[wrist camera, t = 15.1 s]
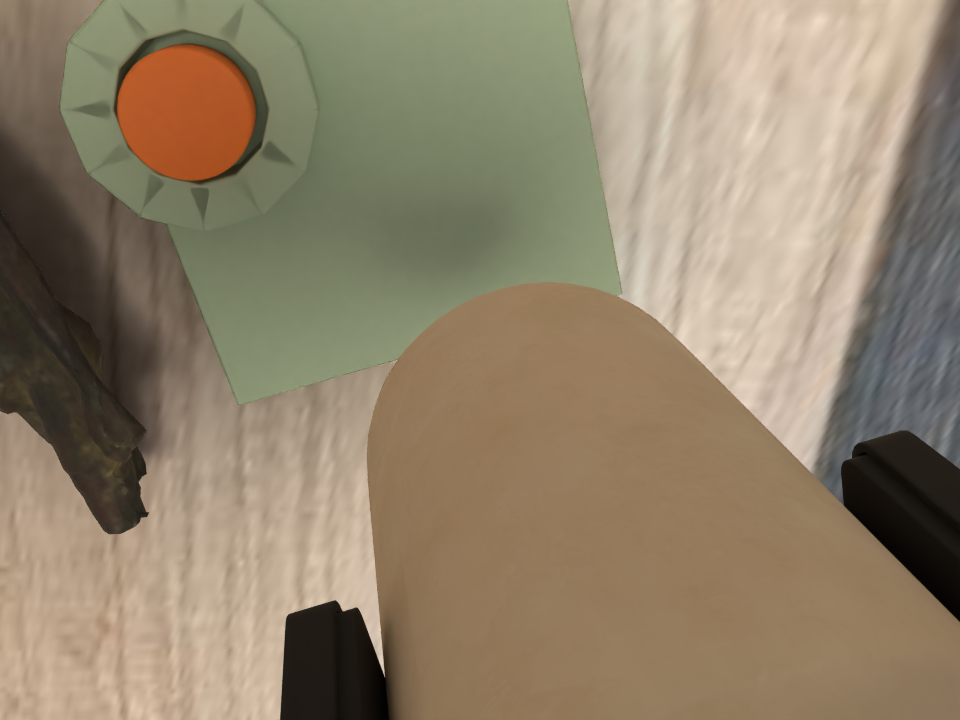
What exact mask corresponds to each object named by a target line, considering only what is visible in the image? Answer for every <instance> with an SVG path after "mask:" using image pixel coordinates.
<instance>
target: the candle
mask: <svg viewBox="0 0 960 720" xmlns="http://www.w3.org/2000/svg"><path fill="white" fill-rule="evenodd" d="M367 468H368V487H369V499H370V511H371V523H372V534H373V545H374V557H375V568H376V579H377V591H378V602H379V613H380V625H381V636H382V647H383V659H384V670H385V681H386V693H387V704H388V715H389V720H960V622H959V621H958V620H957V619H956V618H955V617H954V616H953V615H952V614H951V613H950V612H949V611H948V610H947V609H946V608H945V607H944V606H943V605H942V604H941V603H940V602H939V601H938V600H937V599H936V598H935V597H934V596H933V595H932V594H931V593H930V592H929V591H928V590H927V589H926V588H925V587H924V586H923V585H922V584H921V583H920V582H919V581H918V580H917V579H916V578H915V577H914V576H913V575H912V574H911V573H910V572H909V571H908V570H907V569H906V568H905V567H904V566H903V565H902V564H901V563H900V562H899V561H898V560H897V559H896V558H895V557H894V556H893V555H892V554H891V553H890V552H889V551H888V550H887V549H886V548H885V547H884V546H883V545H882V544H881V543H880V542H879V541H878V540H877V539H876V538H875V537H874V536H873V535H872V534H871V533H870V532H869V531H868V530H867V529H866V527H865V526H864V525H863V524H862V523H861V522H860V521H859V520H858V519H857V518H856V517H855V516H854V515H853V514H852V513H851V512H850V511H849V510H848V509H847V508H846V507H845V506H844V505H843V504H842V503H841V502H840V501H839V500H838V499H837V498H836V497H835V496H834V495H833V494H832V493H831V492H830V491H829V490H828V489H827V488H826V487H825V486H824V485H823V484H822V483H821V482H820V481H819V480H818V479H817V478H816V477H815V476H814V475H813V474H812V473H811V472H810V471H809V470H808V469H807V468H806V467H805V466H804V465H803V464H802V463H801V462H800V461H799V460H798V459H797V458H796V457H795V456H794V455H793V454H792V453H791V452H790V451H789V450H788V449H787V448H786V447H785V446H784V445H783V444H782V443H781V442H780V441H779V440H778V439H777V438H776V437H775V436H774V435H773V434H772V433H771V432H770V431H769V430H768V429H767V428H766V427H765V426H764V425H763V424H762V423H761V422H760V421H759V420H758V419H757V418H756V417H755V416H754V415H753V414H752V413H751V412H750V411H749V410H748V409H747V408H746V407H745V406H744V405H743V404H742V403H741V402H740V401H739V400H738V399H737V398H736V397H735V396H734V395H733V394H732V393H731V392H730V391H729V390H728V389H727V388H726V387H725V386H724V385H723V384H722V383H721V382H720V381H719V380H718V379H717V378H716V377H715V376H714V375H713V374H712V373H711V372H710V371H709V370H708V369H707V368H706V367H705V366H704V365H703V364H702V363H701V362H700V361H699V360H698V359H697V358H696V357H695V356H694V355H693V354H692V353H691V352H690V351H689V350H688V349H687V348H686V347H685V346H684V345H683V344H682V343H681V342H680V341H679V340H677V339H676V338H675V337H674V336H673V335H672V334H671V333H670V332H669V331H668V330H667V329H666V328H665V327H663V326H662V325H661V324H660V323H659V322H658V321H657V320H656V319H654V318H653V317H652V316H650V315H649V314H647V313H646V312H644V311H643V310H642V309H640V308H639V307H637V306H635V305H633V304H631V303H629V302H627V301H625V300H623V299H621V298H619V297H617V296H614V295H612V294H609V293H607V292H604V291H601V290H598V289H595V288H592V287H587V286H582V285H576V284H571V283H557V282H540V283H526V284H520V285H515V286H510V287H505V288H501V289H498V290H495V291H492V292H489V293H486V294H483V295H480V296H478V297H476V298H473V299H471V300H469V301H467V302H465V303H463V304H461V305H459V306H457V307H456V308H454V309H452V310H451V311H449V312H448V313H446V314H445V315H443V316H441V317H440V318H439V319H437V320H436V321H435V322H434V323H432V324H431V325H430V326H429V327H428V328H426V329H425V330H424V331H423V332H422V333H421V334H420V335H419V336H418V337H417V338H416V339H415V340H414V341H413V342H412V343H411V344H410V345H409V346H408V347H407V348H406V350H405V351H404V352H403V354H402V355H401V357H400V358H399V359H398V361H397V362H396V363H395V365H394V366H393V368H392V370H391V372H390V373H389V375H388V377H387V379H386V381H385V383H384V385H383V387H382V389H381V392H380V395H379V397H378V400H377V403H376V405H375V409H374V412H373V416H372V421H371V425H370V430H369V434H368V448H367Z"/></svg>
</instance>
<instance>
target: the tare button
mask: <svg viewBox="0 0 960 720" xmlns="http://www.w3.org/2000/svg"><path fill="white" fill-rule="evenodd" d="M117 113H118V120H119V125H120V128H121V131H122V134H123V136H124V138H125V140H126V142H127V144H128V145H129V147H130V148H131V150H132V151H133V152H134V153H135V155H136V156H137V157H138V158H139V159H140V160H141V161H142V162H143V163H145V164H146V165H147V166H149V167H150V168H151V169H153V170H155V171H157V172H158V173H160V174H163V175H165V176H168V177H171V178H174V179H179V180H187V181H196V180H204V179H209V178H212V177H214V176H217V175H219V174H221V173H223V172H225V171H226V170H228V169H229V168H230V167H232V166H233V165H234V164H235V163H236V162H237V161H238V160H239V158H240V157H241V156H242V154H243V153H244V151H245V149H246V147H247V145H248V143H249V141H250V138H251V136H252V134H253V131H254V127H255V122H256V103H255V98H254V94H253V91H252V89H251V86H250V84H249V82H248V80H247V78H246V77H245V75H244V74H243V73H242V71H241V70H240V69H239V68H238V67H237V65H236V64H235V63H234V62H232V61H231V60H230V59H229V58H228V57H226V56H224V55H223V54H221V53H220V52H218V51H216V50H214V49H211V48H208V47H205V46H202V45H197V44H177V45H172V46H168V47H165V48H163V49H160V50H158V51H155V52H153V53H151V54H149V55H147V56H145V57H144V58H142V59H141V60H140V61H138V62H137V63H136V64H135V65H134V66H133V67H132V68H131V69H130V71H129V72H128V73H127V75H126V77H125V79H124V80H123V82H122V85H121V88H120V91H119V95H118V103H117Z"/></svg>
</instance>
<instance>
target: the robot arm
mask: <svg viewBox="0 0 960 720" xmlns="http://www.w3.org/2000/svg"><path fill="white" fill-rule="evenodd" d="M841 476H842V488H843V500H844V506H845V507H846V508H847V509H848V510H849V511H850V512H851V513H852V514H853V515H854V516H855V517H856V518H857V519H858V520H859V521H860V522H861V523H862V524H863V525H864V526H865V527H866V529H867V530H868V531H869V532H870V533H871V534H872V535H873V536H874V537H875V538H876V539H877V540H878V541H879V542H880V543H881V544H882V545H883V546H884V547H885V548H886V549H887V550H888V551H889V552H890V553H891V554H892V555H893V556H894V557H895V558H896V559H897V560H898V561H899V562H900V563H901V564H902V565H903V566H904V567H905V568H906V569H907V570H908V571H909V572H910V573H911V574H912V575H913V576H914V577H915V578H916V579H917V580H918V581H919V582H920V583H921V584H922V585H923V586H924V587H925V588H926V589H927V590H928V591H929V592H930V593H931V594H932V595H933V596H934V597H935V598H936V599H937V600H938V601H939V602H940V603H941V604H942V605H943V606H944V607H945V608H946V609H947V610H948V611H949V612H950V613H951V614H952V615H953V616H954V617H955V618H956V619H957V620H958V621H959V622H960V469H959V468H957V467H956V466H955V465H954V464H952V463H951V462H950V461H948V460H947V459H946V458H944V457H943V456H942V455H940V454H939V453H938V452H936V451H935V450H934V449H933V448H931V447H930V446H929V445H927V444H926V443H925V442H923V441H922V440H921V439H919V438H918V437H917V436H915V435H914V434H912V433H911V432H909V431H898V432H895V433H891V434H888V435H885V436H881V437H878V438H875V439H871V440H868V441H865V442H861V443H858V444H857V445H856V446H854V449H853V452H852V459H849V460H846V461H844V462H843V464H842V467H841ZM280 720H389V715H388V704H387V693H386V681H385V677H384V674H383V671H382V669H381V666H380V663H379V660H378V658H377V655H376V652H375V650H374V647H373V644H372V642H371V639H370V636H369V634H368V631H367V628H366V625H365V623H364V620H363V617H362V615H361V613H360V611H359V609H358V608H353V609H350V610H347V611H342V609H341V607H340V605H339V603H338V602H337V601H335V600H334V601H331V602H328V603H324V604H321V605H318V606H314V607H311V608H308V609H304V610H301V611H298V612H294V613H291V614H289V615H288V616H287V618H286V627H285V645H284V662H283V680H282V698H281V715H280Z"/></svg>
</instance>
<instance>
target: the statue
mask: <svg viewBox="0 0 960 720" xmlns="http://www.w3.org/2000/svg"><path fill="white" fill-rule="evenodd" d="M102 371H103V354H102V350H101V346H100V342H99V340H98V339H97V338H96V337H95V335H94V333H93V330H92V328H91V326H90V324H89V323H87V322H86V321H84V320H83V319H81V318H80V317H79V316H77V315H76V314H75V313H73V312H72V311H71V310H69V309H68V308H66V307H65V306H63V305H62V304H61V303H60V302H59V301H58V300H57V299H56V298H55V297H54V296H53V294H52V292H51V290H50V288H49V286H48V285H47V283H46V281H45V279H44V277H43V275H42V274H41V272H40V269H39V268H38V266H37V265H36V263H35V262H34V260H33V259H32V258H31V256H30V255H29V254H28V252H27V251H26V249H25V248H24V247H23V245H22V244H21V242H20V241H19V239H18V237H17V236H16V234H15V233H14V231H13V230H12V228H11V226H10V225H9V223H8V222H7V220H6V219H5V217H4V216H3V214H2V213H1V211H0V411H2V412H4V413H7V414H10V413H13V412H17V413H18V414H19V415H20V416H22V417H23V418H24V419H25V420H26V421H27V422H28V423H29V424H30V425H31V427H32V428H33V429H34V430H35V431H36V432H37V433H38V434H39V435H41V436H42V437H43V438H44V439H45V440H46V441H47V442H48V443H50V444H52V446H53V448H54V450H55V452H56V453H57V456H58V458H59V460H60V462H61V465H62V467H63V469H64V470H65V471H66V472H67V473H68V475H69V476H70V477H71V479H72V481H73V483H74V485H75V487H76V488H77V490H78V491H79V492H80V493H81V495H82V496H83V497H84V499H85V501H86V503H87V505H88V507H89V509H90V510H91V512H92V514H93V515H94V517H95V518H96V520H97V521H98V523H99V524H100V526H101V527H102V529H103V530H104V531H105V532H106V533H108V534H121V533H123V532H125V531H127V530H129V529H131V528H133V527H135V526H136V525H137V524H138V523H139V522H140V519H141V517H147V516H148V514H149V512H146V510H145V508H144V505H143V502H142V500H141V497H140V493H141V487H140V485H139V483H138V482H139V480H140V479H141V477H142V476H144V475H145V474H147V473H146V464H145V461H144V459H143V457H142V455H141V453H140V451H139V449H138V447H137V445H138V444H139V443H140V442H141V440H142V438H143V436H144V434H145V433H146V431H147V430H146V429H145V428H144V427H143V426H142V425H141V424H140V423H139V422H138V421H137V420H136V419H135V418H134V417H133V416H132V415H131V414H130V413H129V412H128V411H127V410H126V409H125V408H124V406H123V405H122V404H121V403H120V402H119V400H118V399H117V398H116V397H115V396H114V395H112V394H111V393H110V392H109V390H108V389H107V388H106V387H105V385H104V384H103V372H102Z"/></svg>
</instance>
